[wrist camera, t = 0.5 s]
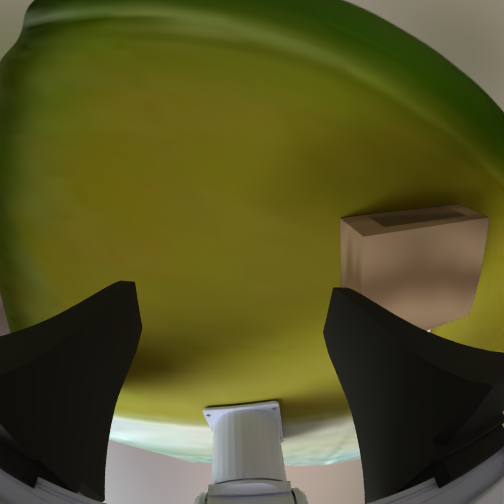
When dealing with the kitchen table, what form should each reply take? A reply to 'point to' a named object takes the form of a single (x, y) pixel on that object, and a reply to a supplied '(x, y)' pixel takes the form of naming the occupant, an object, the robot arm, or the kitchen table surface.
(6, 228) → the kitchen table surface
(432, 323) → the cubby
